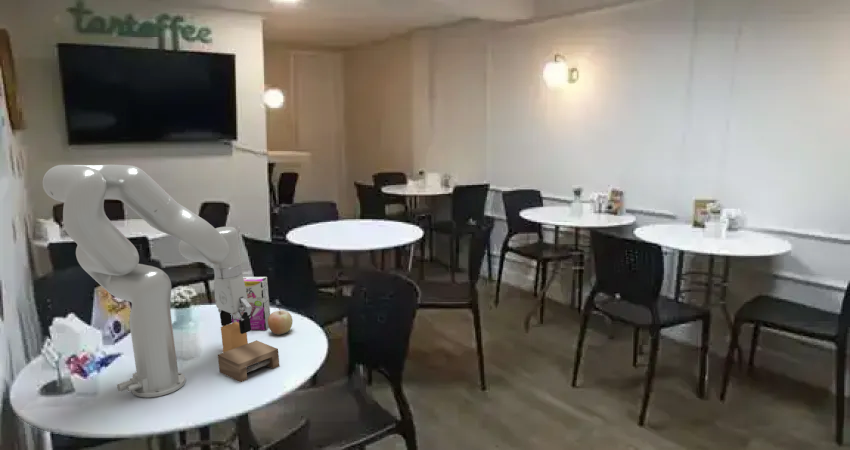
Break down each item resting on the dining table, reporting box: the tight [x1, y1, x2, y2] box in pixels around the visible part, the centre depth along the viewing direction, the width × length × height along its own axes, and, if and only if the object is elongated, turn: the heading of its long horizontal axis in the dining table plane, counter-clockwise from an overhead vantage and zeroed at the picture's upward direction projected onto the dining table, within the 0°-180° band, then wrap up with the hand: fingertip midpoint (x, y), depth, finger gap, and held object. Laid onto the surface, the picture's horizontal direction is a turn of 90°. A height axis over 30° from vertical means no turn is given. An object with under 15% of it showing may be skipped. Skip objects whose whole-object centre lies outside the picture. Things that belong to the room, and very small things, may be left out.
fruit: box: [268, 307, 293, 336], centre depth 188 cm, size 8×7×8 cm
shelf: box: [217, 340, 281, 383], centre depth 163 cm, size 12×10×5 cm
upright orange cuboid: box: [220, 322, 249, 353], centre depth 174 cm, size 5×5×8 cm
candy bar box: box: [231, 276, 271, 331], centre depth 192 cm, size 11×5×16 cm, turn 84°
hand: (236, 328), depth 174 cm, fingers open, 9 cm apart
